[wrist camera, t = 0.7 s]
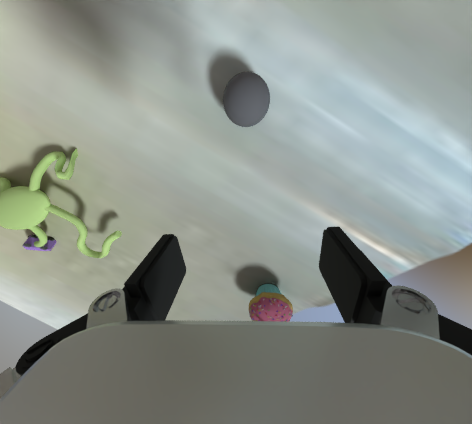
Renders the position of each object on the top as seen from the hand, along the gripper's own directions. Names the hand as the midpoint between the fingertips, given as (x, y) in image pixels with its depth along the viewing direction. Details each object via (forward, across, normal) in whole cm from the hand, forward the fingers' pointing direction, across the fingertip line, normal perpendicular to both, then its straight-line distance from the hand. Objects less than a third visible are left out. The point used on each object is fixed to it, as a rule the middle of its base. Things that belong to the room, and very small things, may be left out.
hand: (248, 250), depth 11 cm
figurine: (+20, +36, +3) cm, 41 cm away
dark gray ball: (+16, 0, -10) cm, 19 cm away
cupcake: (+19, -2, +26) cm, 32 cm away
